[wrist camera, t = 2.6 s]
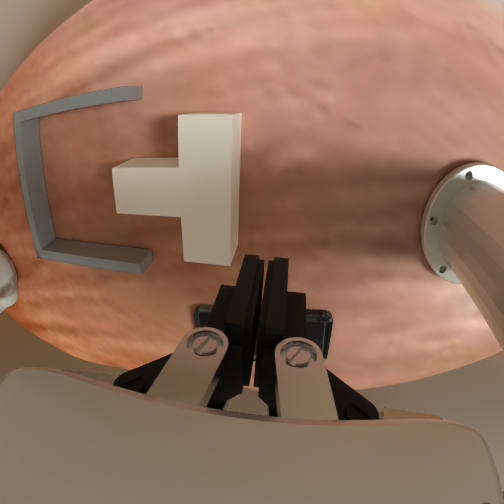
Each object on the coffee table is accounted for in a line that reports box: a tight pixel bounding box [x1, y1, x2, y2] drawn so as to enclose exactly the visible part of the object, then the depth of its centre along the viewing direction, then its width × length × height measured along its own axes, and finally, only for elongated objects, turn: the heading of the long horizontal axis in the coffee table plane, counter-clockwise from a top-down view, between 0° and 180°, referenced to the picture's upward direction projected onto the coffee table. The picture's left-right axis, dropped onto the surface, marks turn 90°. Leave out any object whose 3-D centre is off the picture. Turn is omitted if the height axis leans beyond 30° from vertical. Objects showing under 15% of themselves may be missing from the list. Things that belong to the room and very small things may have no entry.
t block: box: [112, 112, 242, 266], centre depth 24 cm, size 10×12×4 cm
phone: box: [194, 305, 333, 361], centre depth 33 cm, size 8×1×15 cm
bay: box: [13, 86, 153, 275], centre depth 26 cm, size 15×17×3 cm
